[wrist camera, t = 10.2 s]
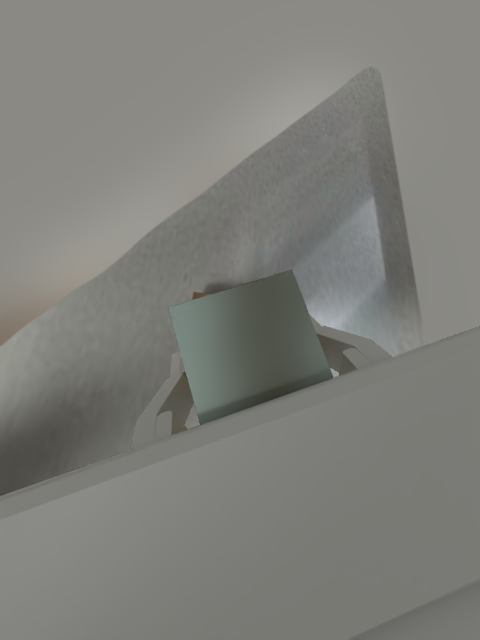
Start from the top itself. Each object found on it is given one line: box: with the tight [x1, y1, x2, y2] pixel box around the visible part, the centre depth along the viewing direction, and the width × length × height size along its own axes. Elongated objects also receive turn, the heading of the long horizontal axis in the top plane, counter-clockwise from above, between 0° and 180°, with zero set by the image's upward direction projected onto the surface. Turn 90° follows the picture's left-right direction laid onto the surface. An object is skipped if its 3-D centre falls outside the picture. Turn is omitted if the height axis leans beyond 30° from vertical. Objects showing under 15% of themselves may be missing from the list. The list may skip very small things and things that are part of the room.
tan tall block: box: [168, 270, 333, 425], centre depth 11 cm, size 5×5×9 cm
